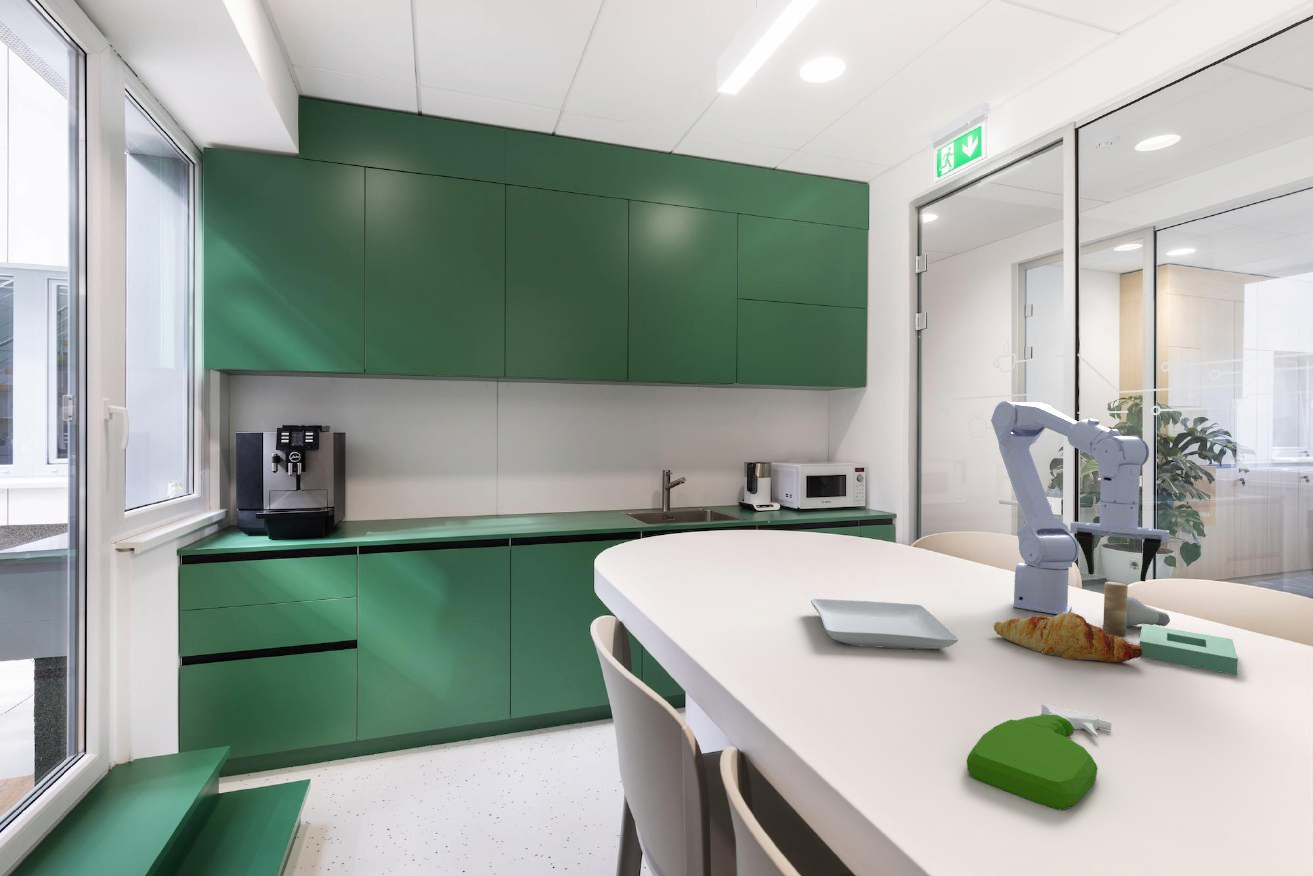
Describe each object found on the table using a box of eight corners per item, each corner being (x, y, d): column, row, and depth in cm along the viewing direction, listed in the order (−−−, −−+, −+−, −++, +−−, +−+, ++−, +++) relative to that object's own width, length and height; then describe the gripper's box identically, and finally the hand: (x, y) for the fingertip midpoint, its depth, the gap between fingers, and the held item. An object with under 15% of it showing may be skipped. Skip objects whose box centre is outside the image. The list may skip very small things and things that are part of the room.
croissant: (989, 660, 113) (984, 625, 110) (1000, 622, 120) (996, 587, 117) (1141, 691, 100) (1141, 652, 97) (1143, 645, 107) (1143, 607, 104)
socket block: (1138, 656, 106) (1139, 640, 106) (1141, 638, 116) (1142, 624, 116) (1237, 674, 99) (1237, 658, 99) (1231, 654, 108) (1232, 639, 108)
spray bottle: (956, 777, 69) (1025, 711, 86) (1076, 823, 61) (1125, 741, 79) (957, 749, 69) (1026, 689, 86) (1077, 792, 61) (1126, 716, 79)
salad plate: (920, 619, 126) (921, 602, 126) (960, 659, 104) (961, 637, 104) (809, 614, 128) (809, 596, 128) (826, 651, 107) (826, 630, 107)
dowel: (1102, 633, 118) (1104, 584, 118) (1103, 629, 121) (1105, 581, 120) (1125, 637, 116) (1127, 587, 116) (1126, 633, 119) (1128, 584, 118)
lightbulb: (1173, 598, 122) (1111, 583, 124) (1184, 625, 118) (1119, 610, 119) (1154, 615, 126) (1094, 601, 128) (1164, 643, 122) (1102, 628, 123)
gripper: (1069, 500, 119) (1066, 574, 119) (1170, 508, 110) (1167, 587, 110) (1073, 497, 125) (1071, 568, 125) (1170, 504, 116) (1167, 580, 116)
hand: (1116, 577), depth 118 cm, fingers open, 7 cm apart
